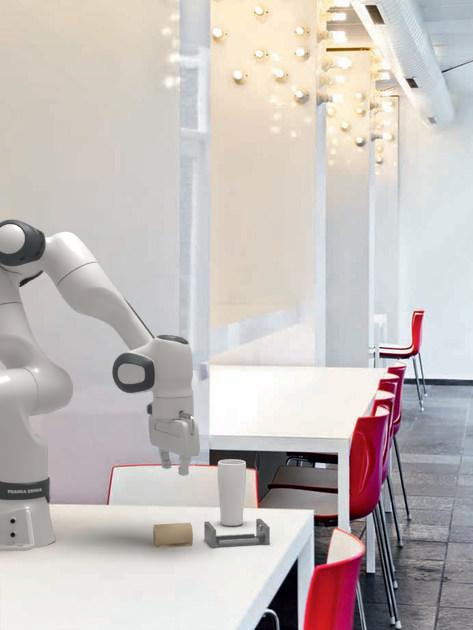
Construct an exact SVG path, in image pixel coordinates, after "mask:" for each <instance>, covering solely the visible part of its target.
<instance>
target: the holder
mask: <svg viewBox="0 0 473 630" xmlns="http://www.w3.org/2000/svg"><path fill="white" fill-rule="evenodd" d="M255 521H256V522H255V523H256V525H255V528H256V530H255V533H241V534H239V533H238V534H223V535H217V529H216V528H215V527H214V526H213V525H212V523H211V522H210V521H204V522H203V523H204V524H203V525H204V526H203V527H204V531H203V532H204V533H203V535H204V537H203V538H204V540H203V541H204V542H207V543H206V544H207V545H208V546H209V547H210V549H221V548H238V547H253V546H254V547H256V546H270V533H271V531H270V530H271V527H270V526H269V525H268V524H267V523H266V522H264V520H262V518H256V520H255Z"/></svg>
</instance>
